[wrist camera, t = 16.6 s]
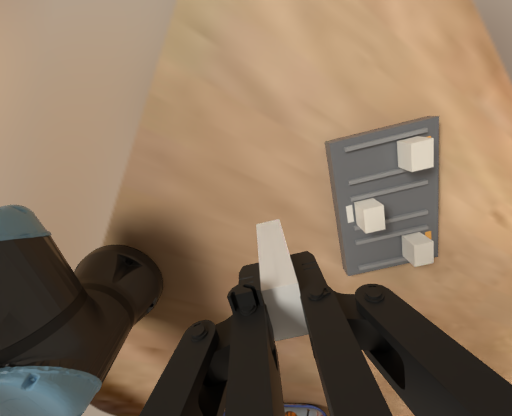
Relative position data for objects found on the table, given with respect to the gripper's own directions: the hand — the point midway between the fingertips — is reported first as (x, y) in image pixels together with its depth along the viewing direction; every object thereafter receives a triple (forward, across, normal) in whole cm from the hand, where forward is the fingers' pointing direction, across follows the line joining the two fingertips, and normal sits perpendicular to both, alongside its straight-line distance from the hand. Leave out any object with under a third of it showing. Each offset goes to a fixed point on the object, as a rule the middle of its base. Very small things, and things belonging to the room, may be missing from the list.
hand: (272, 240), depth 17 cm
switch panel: (+26, +19, -11) cm, 34 cm away
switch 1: (+23, +22, -3) cm, 32 cm away
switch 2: (+23, +22, -19) cm, 37 cm away
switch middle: (+23, +15, -11) cm, 30 cm away
